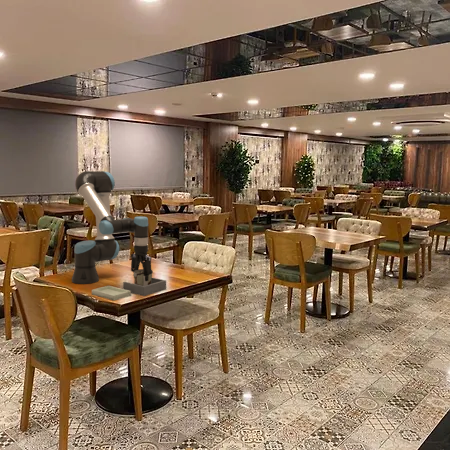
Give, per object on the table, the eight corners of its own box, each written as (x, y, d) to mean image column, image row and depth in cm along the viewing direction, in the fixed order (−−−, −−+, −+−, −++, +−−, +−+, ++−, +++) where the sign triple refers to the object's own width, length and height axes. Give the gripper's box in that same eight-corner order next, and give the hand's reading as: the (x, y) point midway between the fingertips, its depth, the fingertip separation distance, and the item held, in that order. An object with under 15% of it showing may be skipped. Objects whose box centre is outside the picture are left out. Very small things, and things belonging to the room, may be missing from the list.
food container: (145, 284, 251) (145, 267, 250) (152, 286, 247) (153, 269, 246) (128, 289, 241) (128, 271, 240) (135, 291, 238) (135, 273, 236)
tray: (91, 294, 232) (91, 289, 231) (108, 289, 241) (108, 285, 241) (114, 300, 222) (114, 295, 222) (130, 295, 231) (130, 291, 231)
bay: (123, 290, 240) (123, 282, 239) (145, 284, 254) (145, 276, 253) (143, 296, 231) (143, 286, 230) (166, 289, 245) (166, 280, 245)
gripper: (124, 243, 243) (124, 283, 246) (148, 247, 232) (148, 290, 236) (133, 241, 249) (133, 281, 252) (158, 245, 239) (158, 287, 242)
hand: (141, 285), depth 244 cm, fingers closed on food container, 6 cm apart
